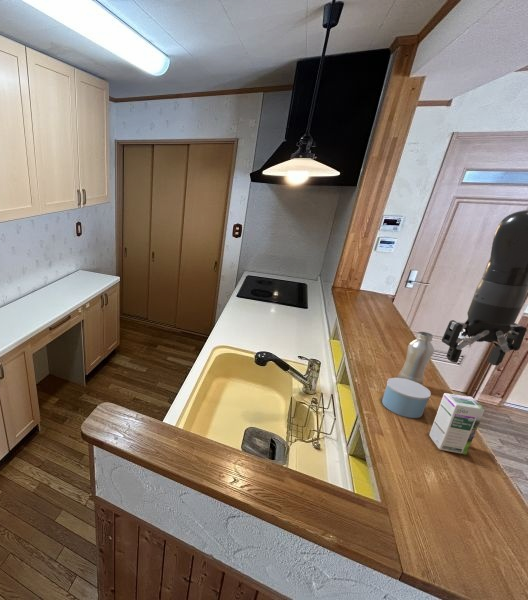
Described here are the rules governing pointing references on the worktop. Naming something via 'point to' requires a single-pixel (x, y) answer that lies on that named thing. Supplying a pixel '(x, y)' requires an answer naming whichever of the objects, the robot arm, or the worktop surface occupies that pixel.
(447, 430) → the syrup box
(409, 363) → the silver metal bottle
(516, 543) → the worktop surface
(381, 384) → the worktop surface
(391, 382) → the yogurt tub
